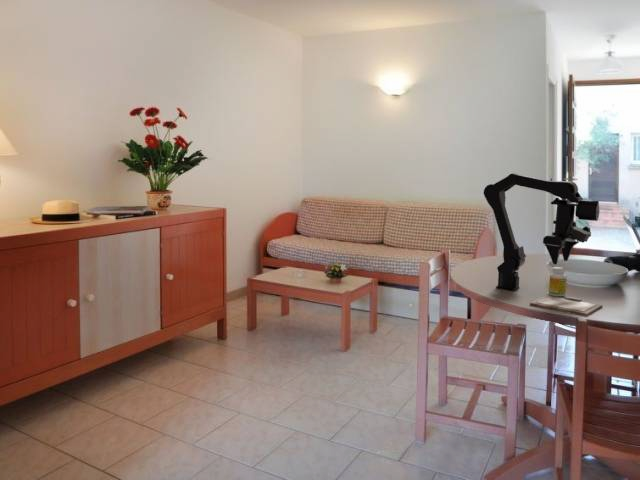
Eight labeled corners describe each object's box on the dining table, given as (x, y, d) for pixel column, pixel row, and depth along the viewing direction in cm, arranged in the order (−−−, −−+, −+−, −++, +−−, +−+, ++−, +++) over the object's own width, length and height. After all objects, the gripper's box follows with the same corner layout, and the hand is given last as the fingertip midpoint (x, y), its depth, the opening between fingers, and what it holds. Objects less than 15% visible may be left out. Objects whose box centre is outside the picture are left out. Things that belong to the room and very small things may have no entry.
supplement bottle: (559, 297, 194) (561, 270, 193) (545, 294, 198) (547, 267, 197) (568, 295, 197) (570, 268, 196) (554, 292, 202) (556, 265, 200)
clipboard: (529, 305, 184) (530, 300, 184) (547, 297, 194) (547, 292, 194) (586, 316, 172) (587, 311, 172) (602, 307, 182) (602, 302, 182)
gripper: (578, 223, 181) (573, 270, 183) (599, 218, 194) (594, 262, 196) (544, 219, 188) (540, 264, 191) (566, 215, 201) (562, 257, 204)
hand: (560, 262), depth 195 cm, fingers open, 9 cm apart
